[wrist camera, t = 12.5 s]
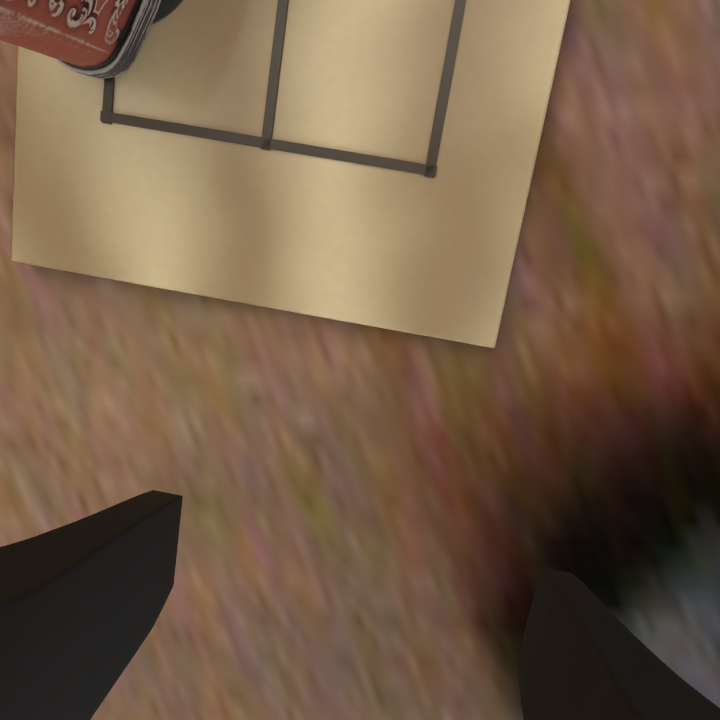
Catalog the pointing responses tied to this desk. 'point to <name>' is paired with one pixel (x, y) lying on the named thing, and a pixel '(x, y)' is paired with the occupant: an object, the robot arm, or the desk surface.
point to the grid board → (298, 157)
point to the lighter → (80, 31)
